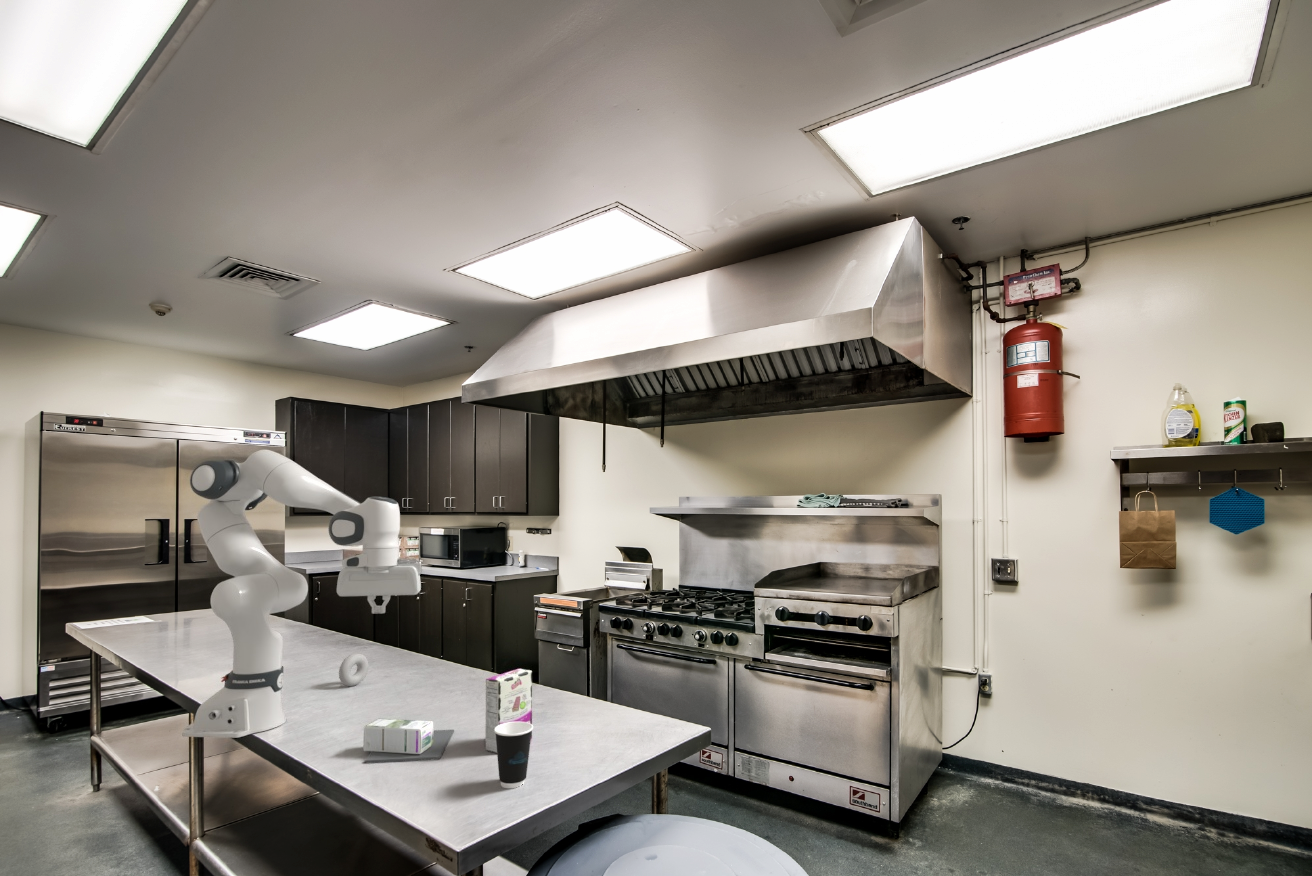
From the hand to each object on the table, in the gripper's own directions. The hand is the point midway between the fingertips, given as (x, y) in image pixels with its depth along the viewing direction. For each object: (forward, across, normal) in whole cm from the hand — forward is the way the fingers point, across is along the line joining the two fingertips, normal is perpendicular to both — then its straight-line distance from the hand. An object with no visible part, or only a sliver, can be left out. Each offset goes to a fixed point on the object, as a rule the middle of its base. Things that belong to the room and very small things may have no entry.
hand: (378, 613), depth 168 cm
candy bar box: (+29, -35, +15) cm, 48 cm away
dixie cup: (+29, -38, +37) cm, 61 cm away
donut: (+29, +19, -44) cm, 56 cm away
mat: (+29, -12, +13) cm, 34 cm away
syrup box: (+26, -3, +14) cm, 29 cm away
